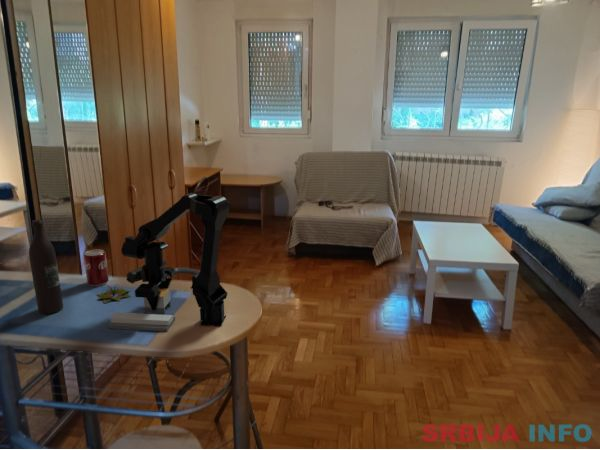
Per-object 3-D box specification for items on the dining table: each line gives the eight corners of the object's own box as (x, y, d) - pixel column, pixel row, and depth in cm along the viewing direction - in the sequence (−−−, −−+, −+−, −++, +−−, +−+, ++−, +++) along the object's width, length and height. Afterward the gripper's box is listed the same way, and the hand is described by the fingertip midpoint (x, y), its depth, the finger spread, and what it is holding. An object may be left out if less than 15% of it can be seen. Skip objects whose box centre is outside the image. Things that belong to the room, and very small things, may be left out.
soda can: (85, 287, 157) (81, 256, 154) (89, 279, 164) (85, 249, 160) (107, 285, 159) (103, 255, 156) (110, 278, 166) (106, 248, 162)
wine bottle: (52, 316, 137) (37, 224, 128) (33, 313, 138) (17, 222, 130) (68, 306, 143) (55, 218, 135) (49, 303, 145) (35, 216, 136)
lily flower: (100, 308, 143) (99, 295, 142) (90, 295, 152) (89, 283, 151) (137, 298, 151) (136, 286, 149) (125, 286, 159) (124, 275, 158)
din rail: (175, 319, 135) (174, 312, 135) (167, 331, 129) (166, 323, 128) (119, 317, 137) (118, 309, 136) (108, 328, 130) (107, 320, 129)
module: (171, 305, 145) (169, 288, 143) (164, 313, 139) (163, 296, 138) (152, 304, 145) (150, 288, 144) (144, 312, 140) (143, 295, 138)
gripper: (141, 250, 147) (145, 292, 151) (115, 270, 129) (120, 318, 133) (174, 251, 146) (177, 293, 151) (151, 272, 128) (156, 319, 133)
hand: (158, 305), depth 142 cm, fingers closed on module, 6 cm apart
